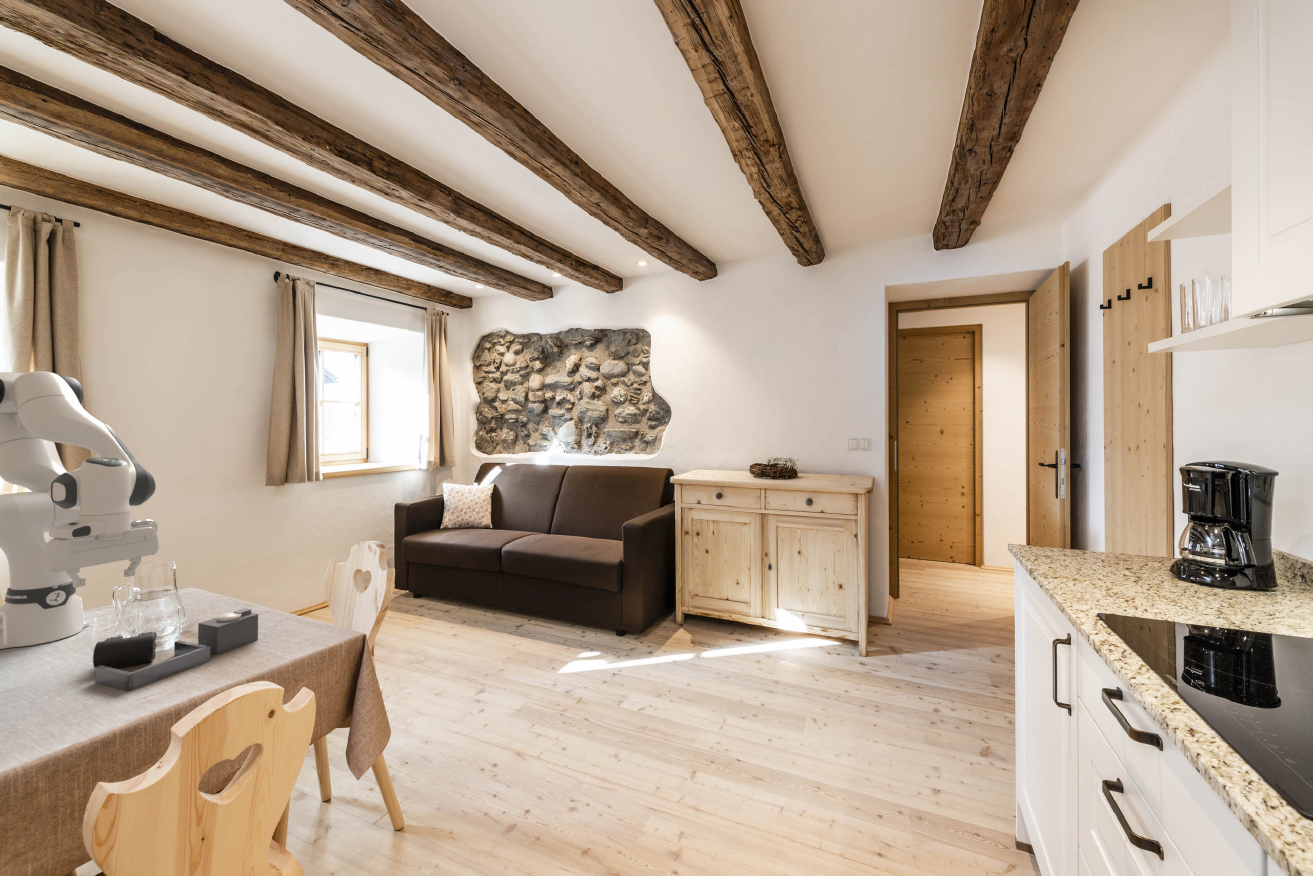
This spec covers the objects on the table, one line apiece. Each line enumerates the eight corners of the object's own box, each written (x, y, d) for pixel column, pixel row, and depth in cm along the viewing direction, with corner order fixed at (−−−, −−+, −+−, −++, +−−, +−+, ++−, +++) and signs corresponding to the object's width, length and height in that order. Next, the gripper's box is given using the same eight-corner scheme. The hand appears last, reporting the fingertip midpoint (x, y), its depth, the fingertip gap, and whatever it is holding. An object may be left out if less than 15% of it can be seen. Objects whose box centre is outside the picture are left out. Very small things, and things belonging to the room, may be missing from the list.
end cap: (92, 676, 119) (92, 646, 119) (101, 664, 125) (102, 636, 125) (152, 666, 125) (152, 637, 125) (158, 655, 131) (159, 628, 131)
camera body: (197, 650, 134) (198, 619, 134) (239, 636, 143) (239, 607, 143) (217, 654, 132) (217, 623, 132) (257, 639, 141) (258, 610, 141)
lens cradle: (95, 682, 116) (95, 667, 116) (178, 654, 132) (179, 640, 132) (127, 691, 113) (128, 675, 113) (209, 660, 128) (210, 646, 128)
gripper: (149, 517, 138) (148, 569, 138) (38, 531, 119) (38, 591, 119) (165, 519, 136) (164, 571, 136) (56, 533, 117) (55, 594, 117)
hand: (105, 581), depth 127 cm, fingers open, 8 cm apart
